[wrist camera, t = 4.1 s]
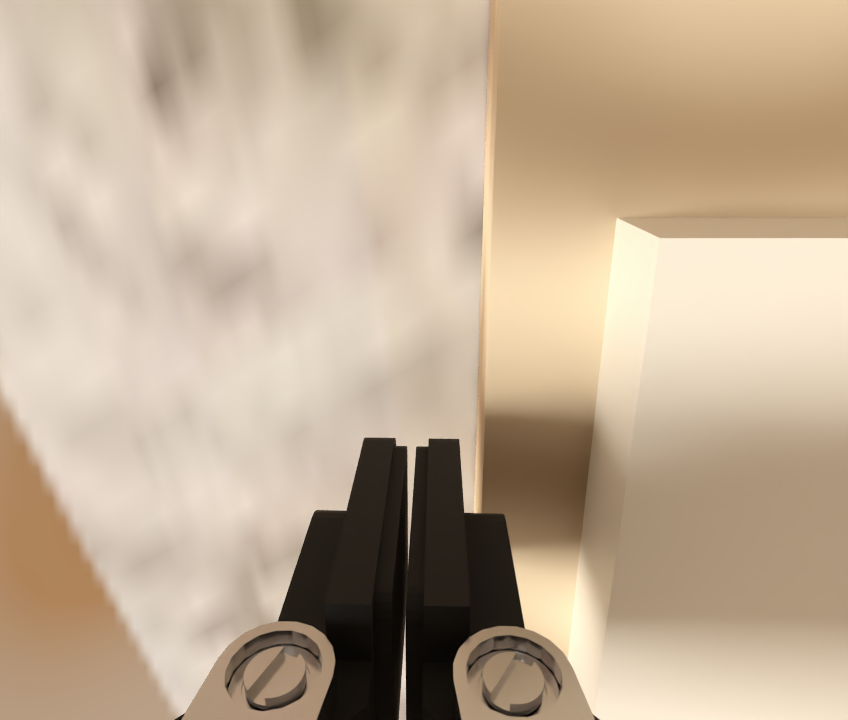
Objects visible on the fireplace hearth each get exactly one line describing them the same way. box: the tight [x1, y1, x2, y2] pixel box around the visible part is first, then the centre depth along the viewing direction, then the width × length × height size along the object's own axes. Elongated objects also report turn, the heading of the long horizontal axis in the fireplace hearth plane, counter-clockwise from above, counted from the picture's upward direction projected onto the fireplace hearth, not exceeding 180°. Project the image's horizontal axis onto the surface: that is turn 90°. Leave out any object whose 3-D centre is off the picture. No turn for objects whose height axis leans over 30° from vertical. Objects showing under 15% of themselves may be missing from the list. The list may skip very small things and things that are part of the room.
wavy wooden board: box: [474, 0, 848, 659], centre depth 12 cm, size 22×14×2 cm, turn 0°
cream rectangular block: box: [568, 218, 848, 720], centre depth 10 cm, size 10×6×2 cm, turn 0°
